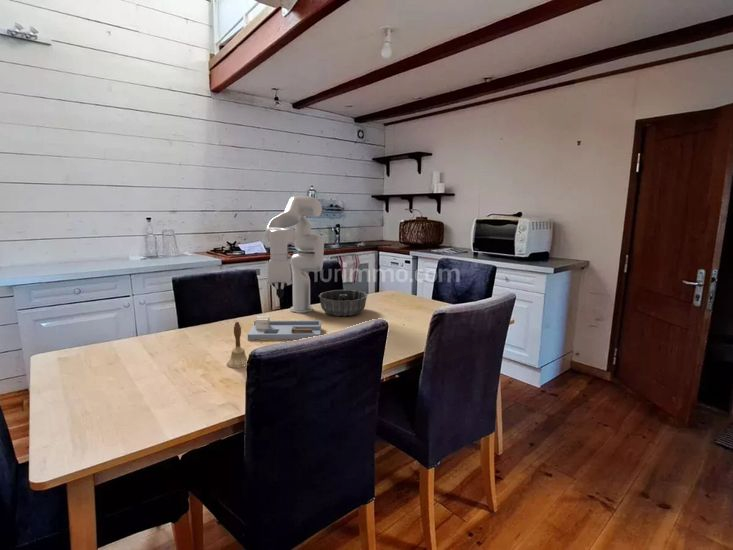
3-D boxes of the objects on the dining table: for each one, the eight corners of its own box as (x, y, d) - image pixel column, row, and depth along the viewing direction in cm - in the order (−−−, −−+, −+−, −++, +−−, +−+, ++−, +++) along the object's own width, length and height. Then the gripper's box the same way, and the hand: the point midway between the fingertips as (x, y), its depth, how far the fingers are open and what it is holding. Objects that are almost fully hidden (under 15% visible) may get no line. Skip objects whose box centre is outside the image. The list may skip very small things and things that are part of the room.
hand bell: (255, 362, 146) (253, 321, 143) (237, 370, 139) (235, 327, 136) (239, 357, 150) (237, 317, 147) (221, 364, 143) (219, 323, 140)
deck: (254, 329, 183) (254, 320, 182) (321, 328, 186) (321, 320, 185) (247, 340, 168) (247, 331, 168) (320, 339, 171) (320, 330, 170)
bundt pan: (310, 316, 206) (310, 297, 204) (329, 304, 231) (329, 287, 229) (358, 321, 198) (358, 302, 197) (372, 308, 223) (373, 291, 221)
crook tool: (292, 330, 174) (292, 327, 174) (312, 330, 175) (312, 327, 175) (291, 332, 171) (291, 329, 171) (312, 332, 172) (312, 329, 172)
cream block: (257, 325, 180) (257, 316, 179) (269, 325, 181) (269, 316, 180) (255, 329, 175) (255, 319, 174) (268, 329, 176) (267, 319, 175)
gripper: (296, 256, 178) (297, 295, 182) (263, 255, 177) (264, 295, 180) (295, 258, 171) (295, 299, 174) (260, 258, 169) (261, 299, 173)
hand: (280, 297), depth 177 cm, fingers closed
